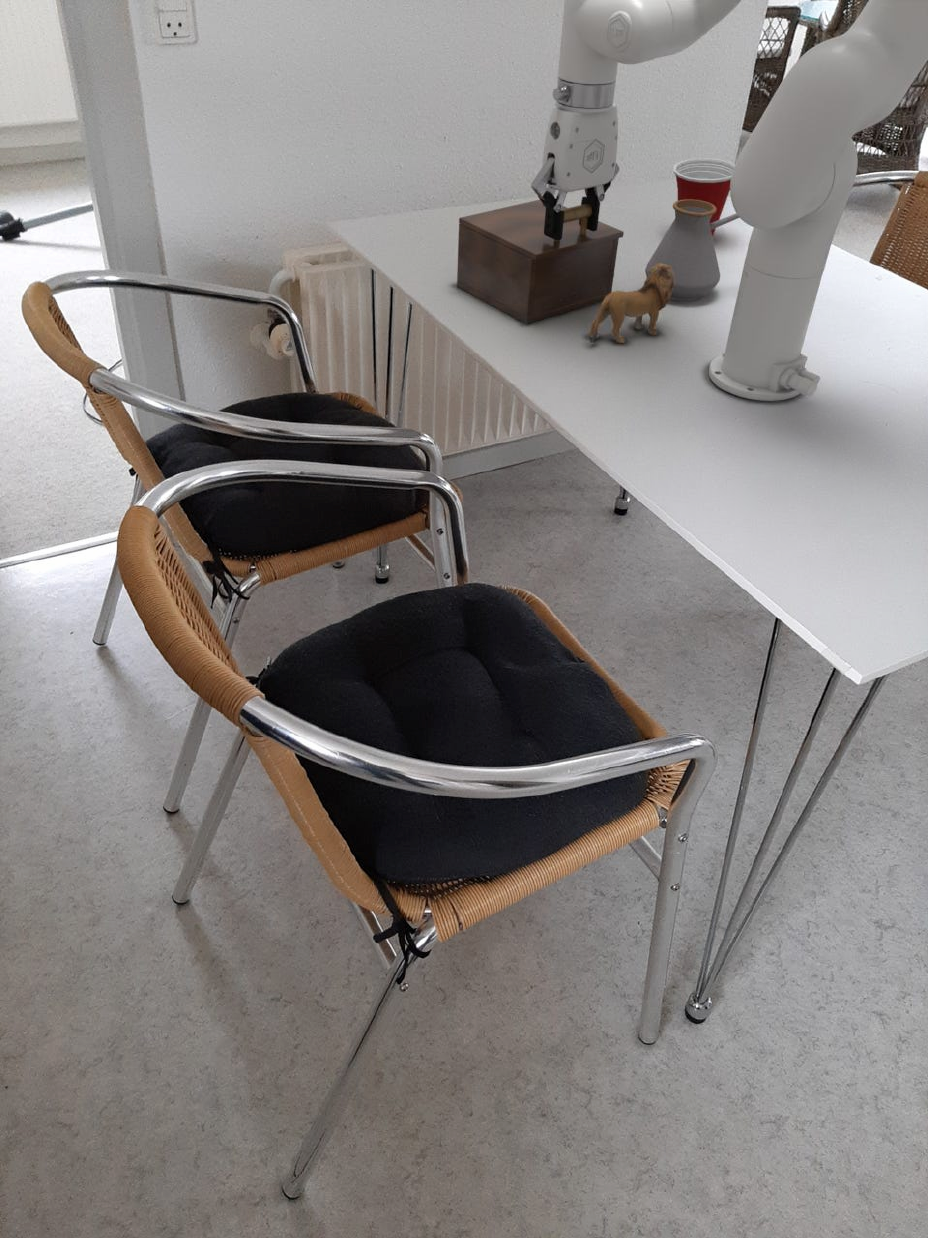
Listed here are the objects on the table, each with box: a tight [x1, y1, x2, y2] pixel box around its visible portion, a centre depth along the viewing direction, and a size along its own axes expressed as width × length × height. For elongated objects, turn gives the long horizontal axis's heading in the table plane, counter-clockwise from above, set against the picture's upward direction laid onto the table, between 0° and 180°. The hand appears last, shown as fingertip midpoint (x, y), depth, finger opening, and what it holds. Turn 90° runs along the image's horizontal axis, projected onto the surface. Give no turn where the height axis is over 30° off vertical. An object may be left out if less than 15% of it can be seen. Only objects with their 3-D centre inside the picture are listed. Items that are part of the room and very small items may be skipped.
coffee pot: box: [644, 199, 741, 302], centre depth 152 cm, size 21×12×15 cm, turn 98°
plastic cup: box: [673, 157, 735, 237], centre depth 170 cm, size 11×11×12 cm
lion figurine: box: [588, 263, 675, 344], centre depth 140 cm, size 15×5×9 cm, turn 129°
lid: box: [458, 199, 625, 260], centre depth 146 cm, size 17×17×5 cm
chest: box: [456, 223, 620, 325], centre depth 151 cm, size 16×17×10 cm
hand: (570, 231), depth 143 cm, fingers closed on lid, 6 cm apart
